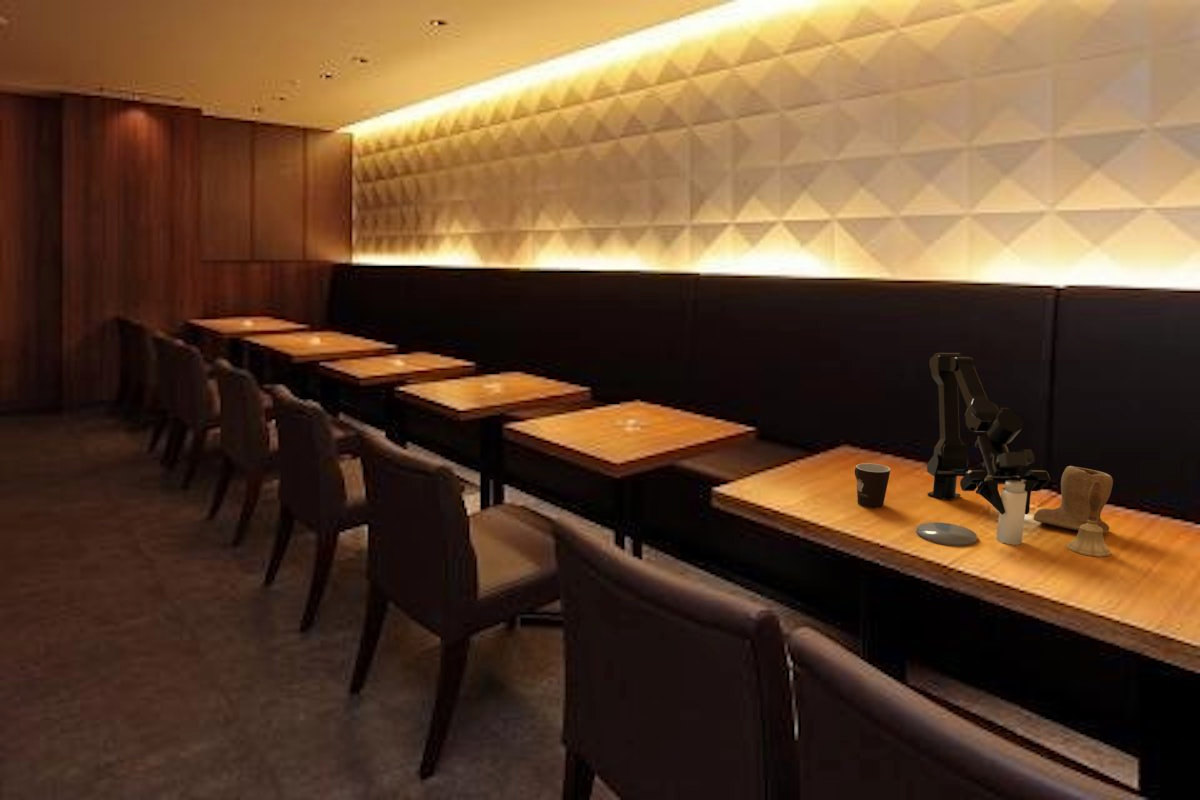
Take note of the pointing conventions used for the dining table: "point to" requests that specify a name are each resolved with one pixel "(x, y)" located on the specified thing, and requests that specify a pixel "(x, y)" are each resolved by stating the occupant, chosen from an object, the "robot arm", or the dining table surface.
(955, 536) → the slate plate
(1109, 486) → the brown boot
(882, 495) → the coffee mug
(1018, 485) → the capped bottle
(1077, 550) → the hand bell
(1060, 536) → the dining table surface
